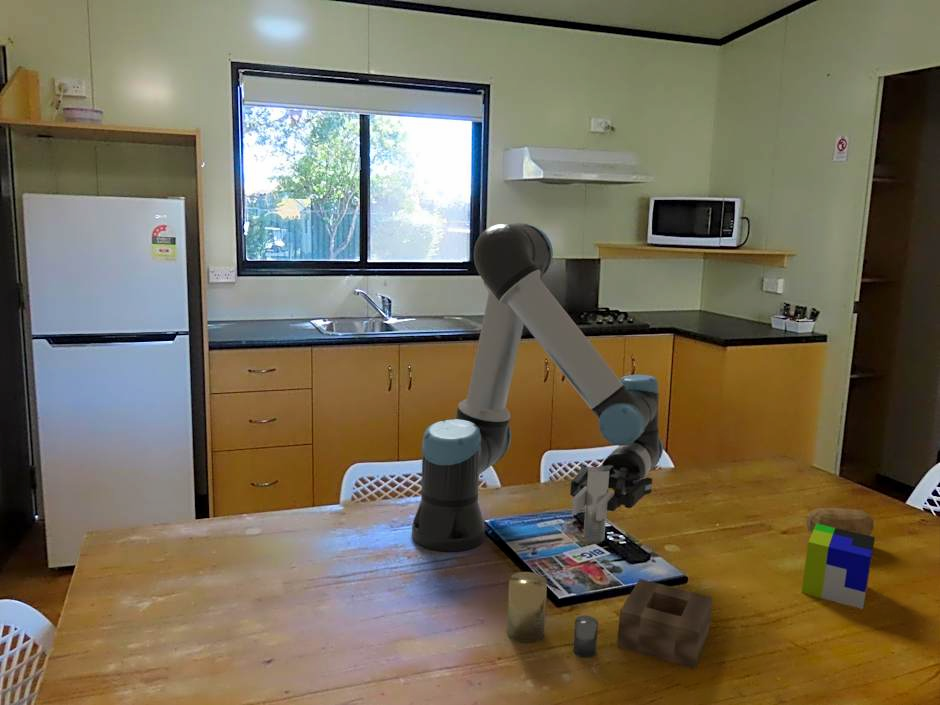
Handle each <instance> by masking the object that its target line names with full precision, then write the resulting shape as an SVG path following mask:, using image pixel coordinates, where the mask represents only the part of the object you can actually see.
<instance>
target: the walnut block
mask: <svg viewBox="0 0 940 705" xmlns="http://www.w3.org/2000/svg"><path fill="white" fill-rule="evenodd" d="M713 599H714V598H713V597H712V596H708V595H705V594H704V595H703V594H700V593H698V592H697V593H696V592H693V591H689V590H685V589H681V588H677V587H673V586H669V585H667V584H661V583H658V582H654V581H650V580H646V579H641V578H640V579H638V581H637V583H636V584H635V586H634V587H633V589H632V591H631V592H630V593H629V595H628V597H627V599H626V600H625V602H624V603H623V605H622V606H621V608H620V610H619V620H618V630H617V640H616V646H617V647H620V648H622V649H627V650H630V651H633V652H637V653H640V654H643V655H647V656H650V657H653V658H656V659H659V660H663V661H667V662H668V663H669V662H670V663H673V664H677V665H680V666H683V667H686V668H689V669H692V670H696V667H697V664H698V662H699V659H700V656H701V654H702V651H703V648H704V645H705V644H706V640H707V638H708V635H709V633H710V626H711V616H712V608H713Z"/></svg>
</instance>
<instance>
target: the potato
mask: <svg viewBox="0 0 940 705" xmlns="http://www.w3.org/2000/svg"><path fill="white" fill-rule="evenodd" d="M816 524H820V525H824V526H829V527H833V528H837V529H842V530H846V531H850V532H855V533H859V534H863V535H868V536H871V534H872V533H873V531H874V528H875V527H874V526H875V523H874V519H873V517H872V516H871V515H870V514H868V513H866V512H865V511H862V510H859V509H856V508H855V509H853V508H851V509H849V508H840V507H828V508H827V507H825V508H823V507H820V508H815V509H812V510H811V511H810V512H809V513H808V515H807V519H806V526H807V530H808V532H810V535H812V532H813V530H814V527H815V525H816Z"/></svg>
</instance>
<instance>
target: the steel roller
mask: <svg viewBox="0 0 940 705" xmlns="http://www.w3.org/2000/svg"><path fill="white" fill-rule="evenodd" d="M608 483H609V470H608V469H606V468H603V467H600V466H591V467H588V478H587V492H586V505H585V506H584V507H585V508H584V521H583V523H584V524H583V536H582V537H583V539H584V540H586V541H587V542H592V543H601V542H603V541H605V537H606V536H605V533H606V520H607V514H606V515H605V516H604V517H603V519H602V520H601V521H599V520H596V513H597V504H598V503H599V502H600V500H601V499H602V498H603V497H604V496H605V495H606V494H607V493H608V492H609V488H608Z"/></svg>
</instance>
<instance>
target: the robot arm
mask: <svg viewBox="0 0 940 705" xmlns="http://www.w3.org/2000/svg"><path fill="white" fill-rule="evenodd" d="M553 255H554V250H553V246H552V242H551V240H550V239H549V236H547V234H546V233H545V232H544V231H543V230H542V229H540V227H539V228H538V227H537V226H536V225H535V226H534V225H531V224H528V223H521V222H518V223H497V224H495V225H492V226H490V227H488V228H486V229H485V230H483V232H481V234H480V235H479V236H478V238H477V240H476V241H475V244H474V249H473V262H474V266H475V268H476V271H477V273H478V275H479V277H480V278H481V279H482V281H483V286H484V287H485V288H486V290H487V292H488V296H487V301H486V306H485V310H484V315H483V319H482V324H481V329H480V334H479V338H478V342H477V343H478V344H477V347H476V348H477V349H476V353H475V358H474V362H473V366H472V367H473V368H472V372H471V376H470V377H471V378H470V381H469V385H468V386H469V387H468V391H467V396H466V398H465V399H463V400H462V401H460V402H459V403H458V406H457V410H456V414H455V418H454V419H453V418H451V419H446V420H444V421H442V420H439V421H437V422H434V423H433V424H431V425H429V426H427V428H426V429H425V432H424V433H423V438H422V439H423V440H422V445H421V453H422V456H421V459H422V460H421V496H420V502H419V505H418V507H417V510H416V512H415V516H414V518H413V521H412V525H411V538H412V540H413V541H414V542H415V543H416V544H417V545H419V546H421V547H424V548H426V549H430V550H433V551H434V550H435V551H441V552H461V551H466V550H471V549H473V548H476V547H477V546H478V547H479V545H481V544H482V543H483V542H484V540H485V537H486V525H485V521H484V518H483V515H482V512H481V511H482V510H481V508H480V505H479V484H480V483H479V480H480V475H481V474H482V473H483V472H485V471H486V470H488V469H489V468H490V467H492V466H493V465H494V464H497V462H499V461H500V460H501V459H502V458H503V457H504V456H505V454H506V452H507V451H508V449H510V445H511V442H512V431H511V426H510V425H509V424H510V420H511V412H510V411H509V410H508V408H507V407H506V406H507V402H508V397H509V393H510V392H509V391H510V387H511V385H512V384H511V383H512V378H513V375H514V370H515V365H516V361H517V357H518V353H519V348H520V343H521V338H522V333H523V330H524V326H525V328H526V329H527V330H528V331H529V333H530V334H531V335H532V336H533V338H535V340H536V341H537V343H539V345H540V346H541V348H542V350H544V351H545V353H546V354H547V355H548V356H549V358H550V359H551V360H552V362H553V363H554V364H555V365H556V367H557V368H558V369H559V371H560V372H561V373H562V375H564V377H565V379H566V380H567V381H568V382H569V383H570V385H571V387H573V388H574V389H575V391H576V392H577V393H578V394H579V396H580V397H581V398H582V400H583V401H584V402H585V403H586V405H587V406H588V407H589V408H590V410H591V411H592V412H593V414H594V415H595V417H596V418H597V419H598V420H599V421H598V427H599V431H600V435H601V436H602V437H603V438H604V439H605V441H606V442H608V443H609V444H612V445H614V446H618V447H616V448H615V449H614V450H613V451H612V452H611V453H610V454H609V455H608V456H607V457H606V458H605V459H604V460H603V462H602V464H601V465H600V466H599V467H603V468H606V469H608V470H609V483H608V489H612V490H613V491H609V490H608V493H607V494H606V495H605V496H604V497H603V498H602V499H601V500H600V502H599V503H598V504H597V513H596V520H599V521H601V520H602V519H603V517H604V516H605V515H606V516H607V514H608V513H609V512H614V511H616V510H617V509H618V508H621V506H624V508H627V509H632V508H633V507H634V506H635V505H636V504H637V503H638V502H639V501H640V500H642V498H643V497H644V496H646V495H648V494H649V495H650V494H651V493H652V489H653V488H652V486H653V478H651V477H646V476H647V475H648V474H649V473H650V471H651V470H652V469H653V468H654V467H655V466H657V465H658V463H659V462H660V459H661V458H662V455H663V452H664V444H663V441H662V439H661V438H660V434H659V398H660V397H659V396H660V392H659V382H658V379H657V378H656V377H654V376H652V375H649V374H648V375H647V374H629V375H624V376H622V377H621V378H619V377H618V376H617V374H616V373H615V372H614V371H613V369H612V368H611V366H610V365H609V364H608V362H606V361H605V359H604V358H603V356H602V355H601V354H600V353H599V352H598V351H597V348H595V346H594V345H593V343H591V341H590V340H589V339H588V338H587V336H585V334H584V333H583V331H582V330H581V329H580V328H579V327H578V324H576V323H575V322H574V320H573V319H572V318H571V317H570V315H569V314H568V312H567V311H566V310H565V309H564V308H563V306H562V305H561V304H560V303H559V301H558V300H557V299H556V298H555V296H554V294H553V293H551V291H550V290H549V289H548V287H547V286H546V284H544V282H543V281H542V279H543V276H544V275H545V274H546V273H547V271H548V269H549V268H550V267H551V265H552V262H553ZM588 468H589V467H588V465H586V464H581V465H580V471H579V472H578V473H577V474H576V475H575V476H574V477H573V479H572V480H571V481H570V482H571V483H570V491H569V494H570V495H569V496H572V500H571V514H570V515H573V516H577V514H578V513H580V511H582V509H583V508H584V507H585V506H586V492H587V478H588Z"/></svg>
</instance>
